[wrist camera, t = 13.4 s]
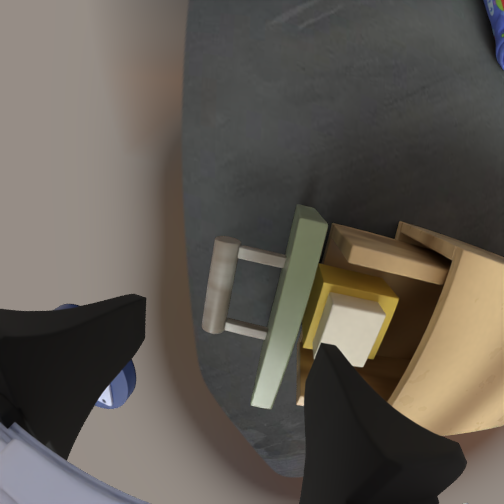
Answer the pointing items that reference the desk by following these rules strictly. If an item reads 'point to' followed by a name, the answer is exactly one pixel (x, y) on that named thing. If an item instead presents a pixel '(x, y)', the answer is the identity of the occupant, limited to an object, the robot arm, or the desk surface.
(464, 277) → the cabinet
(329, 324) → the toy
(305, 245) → the drawer
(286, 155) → the desk surface
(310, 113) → the desk surface
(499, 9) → the pencil case
